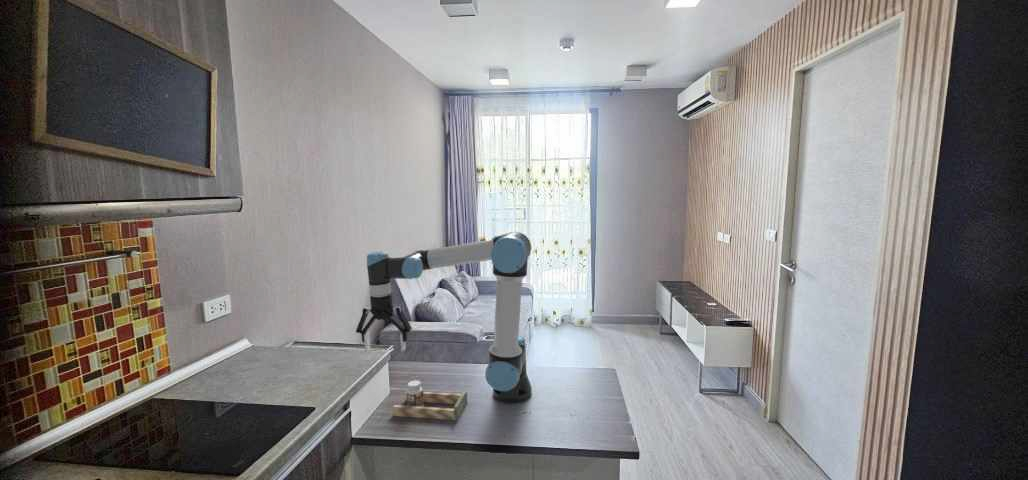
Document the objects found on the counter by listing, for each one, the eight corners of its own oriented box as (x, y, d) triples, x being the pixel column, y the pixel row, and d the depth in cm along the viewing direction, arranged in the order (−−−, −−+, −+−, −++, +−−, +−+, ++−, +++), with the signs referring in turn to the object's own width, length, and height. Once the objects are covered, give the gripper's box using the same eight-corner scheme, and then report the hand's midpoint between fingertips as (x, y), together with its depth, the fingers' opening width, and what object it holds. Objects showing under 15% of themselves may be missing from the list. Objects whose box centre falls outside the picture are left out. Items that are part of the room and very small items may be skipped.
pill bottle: (419, 413, 145) (418, 387, 144) (405, 411, 146) (403, 386, 145) (426, 404, 150) (424, 380, 149) (412, 403, 152) (410, 379, 150)
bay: (467, 402, 151) (466, 390, 150) (458, 420, 139) (457, 406, 139) (407, 399, 155) (406, 387, 154) (393, 415, 144) (392, 402, 143)
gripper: (417, 290, 147) (421, 345, 150) (352, 292, 149) (357, 346, 152) (410, 296, 140) (415, 353, 143) (342, 298, 142) (348, 354, 145)
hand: (385, 350), depth 147 cm, fingers open, 13 cm apart
